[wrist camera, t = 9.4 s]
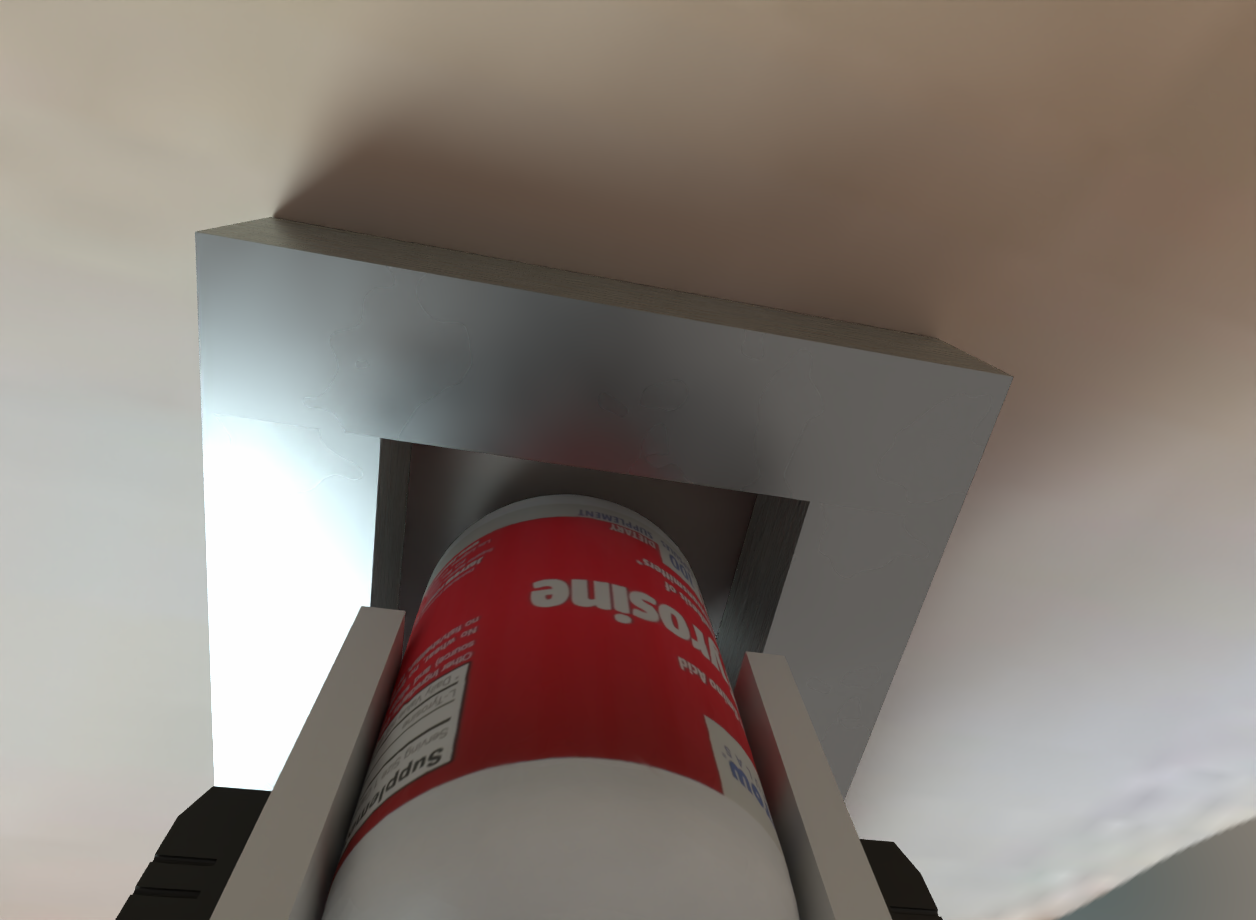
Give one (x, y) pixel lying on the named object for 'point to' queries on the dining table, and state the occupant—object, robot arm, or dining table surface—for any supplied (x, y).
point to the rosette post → (556, 453)
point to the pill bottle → (562, 740)
